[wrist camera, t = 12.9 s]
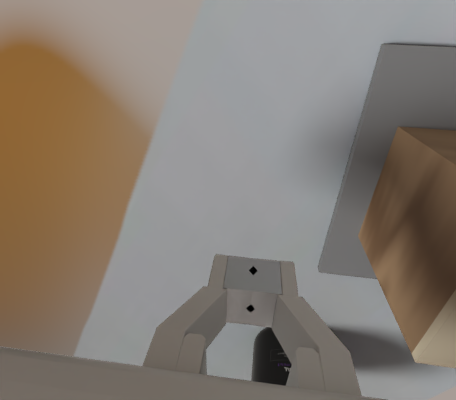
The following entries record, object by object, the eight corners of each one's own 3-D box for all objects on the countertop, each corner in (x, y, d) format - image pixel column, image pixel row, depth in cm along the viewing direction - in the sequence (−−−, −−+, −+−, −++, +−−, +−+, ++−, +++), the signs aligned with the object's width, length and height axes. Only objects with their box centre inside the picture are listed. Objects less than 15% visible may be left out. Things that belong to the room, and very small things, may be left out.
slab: (415, 242, 19) (513, 376, 12) (357, 236, 20) (415, 362, 12) (472, 131, 15) (682, 227, 7) (398, 126, 16) (524, 212, 8)
